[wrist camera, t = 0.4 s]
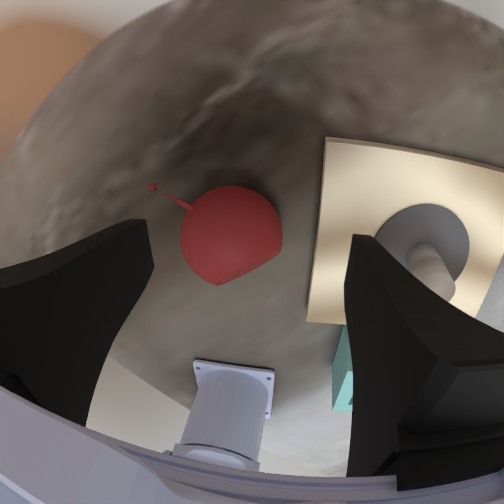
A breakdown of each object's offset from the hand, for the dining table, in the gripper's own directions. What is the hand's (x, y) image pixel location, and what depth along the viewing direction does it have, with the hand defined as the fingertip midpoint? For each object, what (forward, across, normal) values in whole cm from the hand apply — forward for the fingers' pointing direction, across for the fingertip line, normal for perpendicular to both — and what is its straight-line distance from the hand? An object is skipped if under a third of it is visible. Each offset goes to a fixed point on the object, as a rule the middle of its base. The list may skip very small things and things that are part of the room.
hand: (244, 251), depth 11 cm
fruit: (+10, +3, +3) cm, 11 cm away
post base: (+10, -10, +4) cm, 15 cm away
